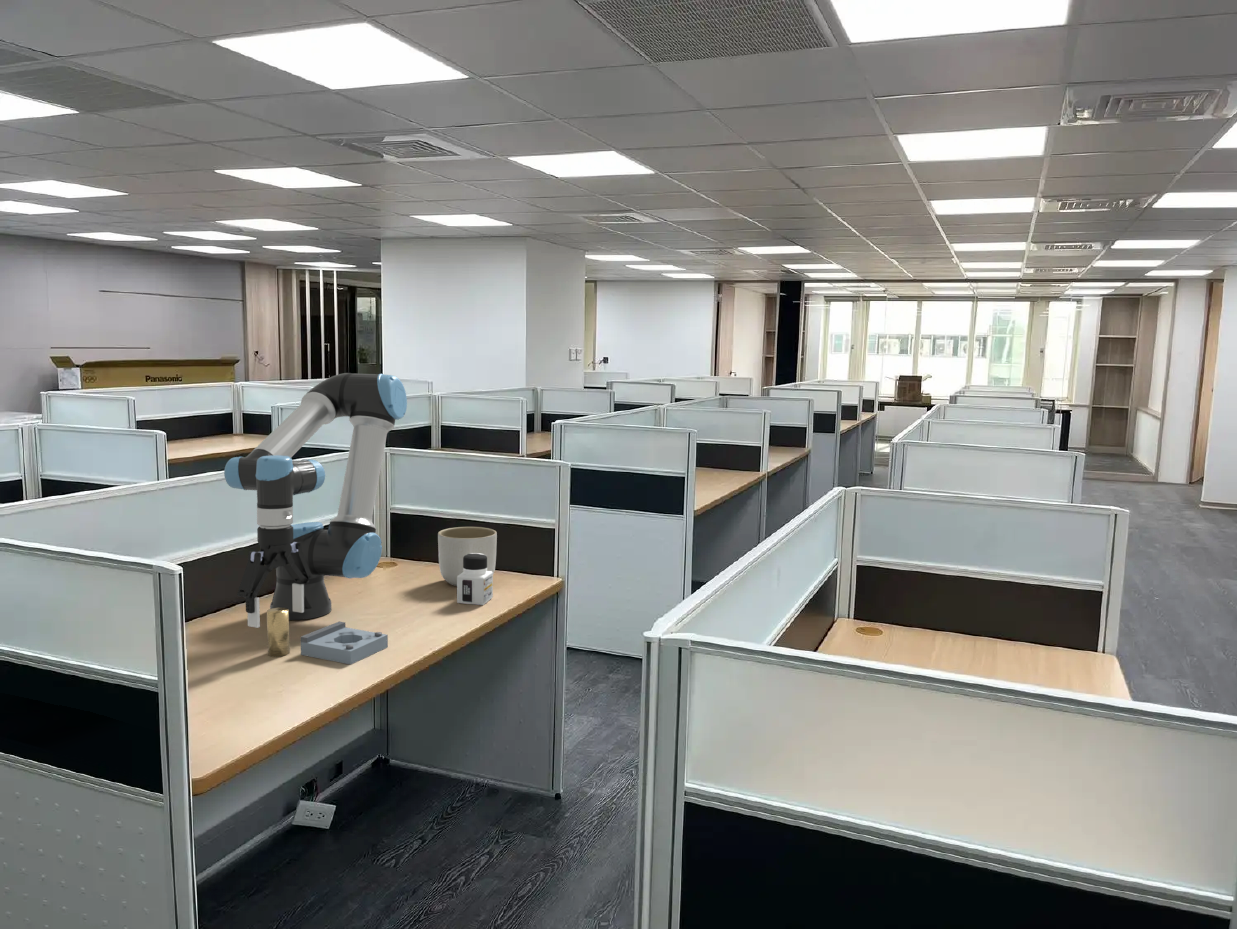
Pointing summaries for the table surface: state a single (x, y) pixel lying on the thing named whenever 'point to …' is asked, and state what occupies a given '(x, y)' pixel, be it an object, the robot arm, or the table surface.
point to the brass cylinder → (278, 632)
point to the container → (475, 580)
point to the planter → (464, 549)
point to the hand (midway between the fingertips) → (276, 619)
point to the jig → (342, 643)
